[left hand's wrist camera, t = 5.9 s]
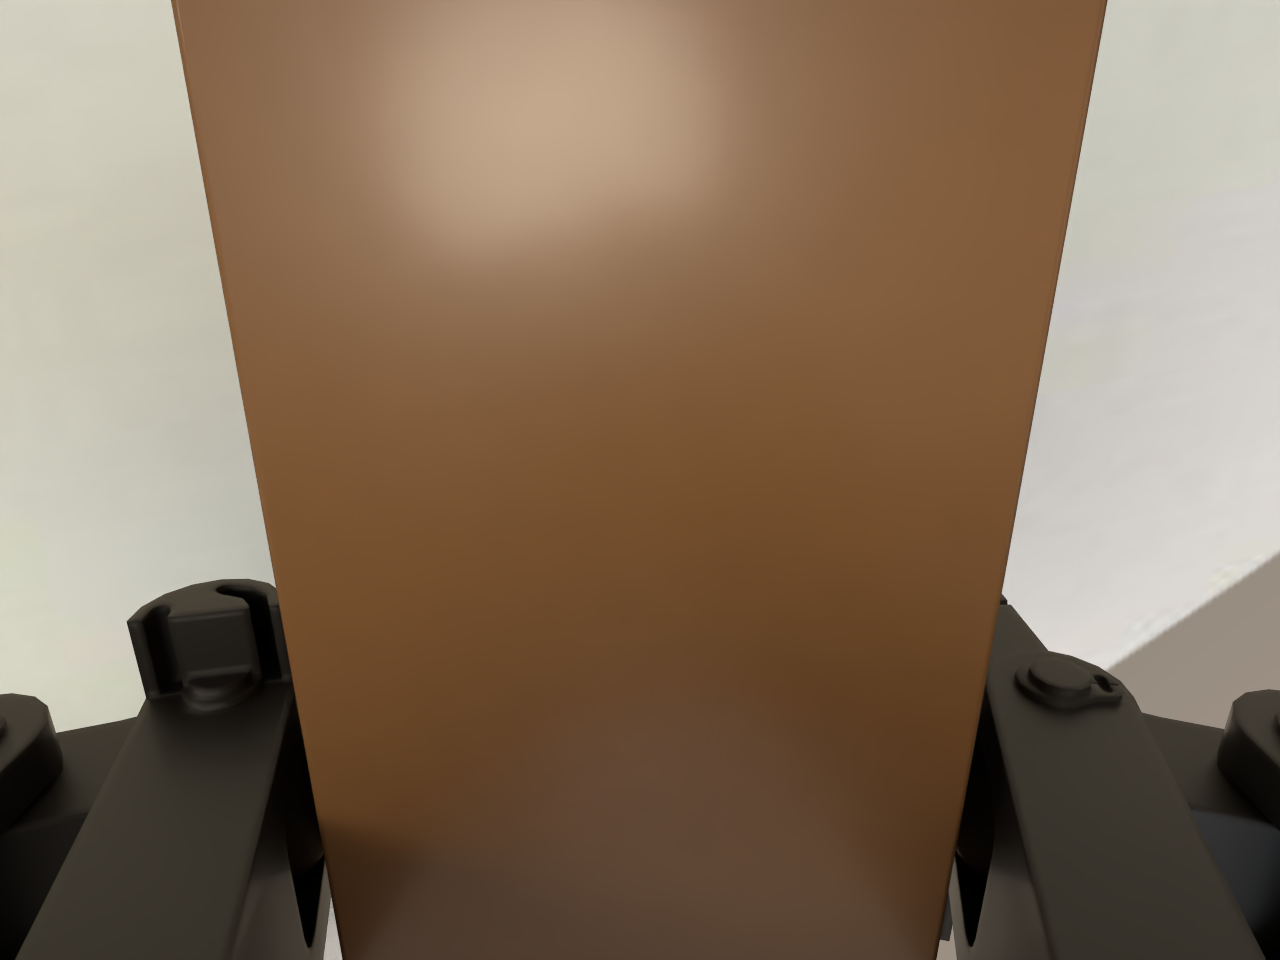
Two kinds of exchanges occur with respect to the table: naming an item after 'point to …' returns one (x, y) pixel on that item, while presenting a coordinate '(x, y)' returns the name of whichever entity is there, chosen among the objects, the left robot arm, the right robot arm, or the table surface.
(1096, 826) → the left robot arm
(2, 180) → the table surface
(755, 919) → the bar
